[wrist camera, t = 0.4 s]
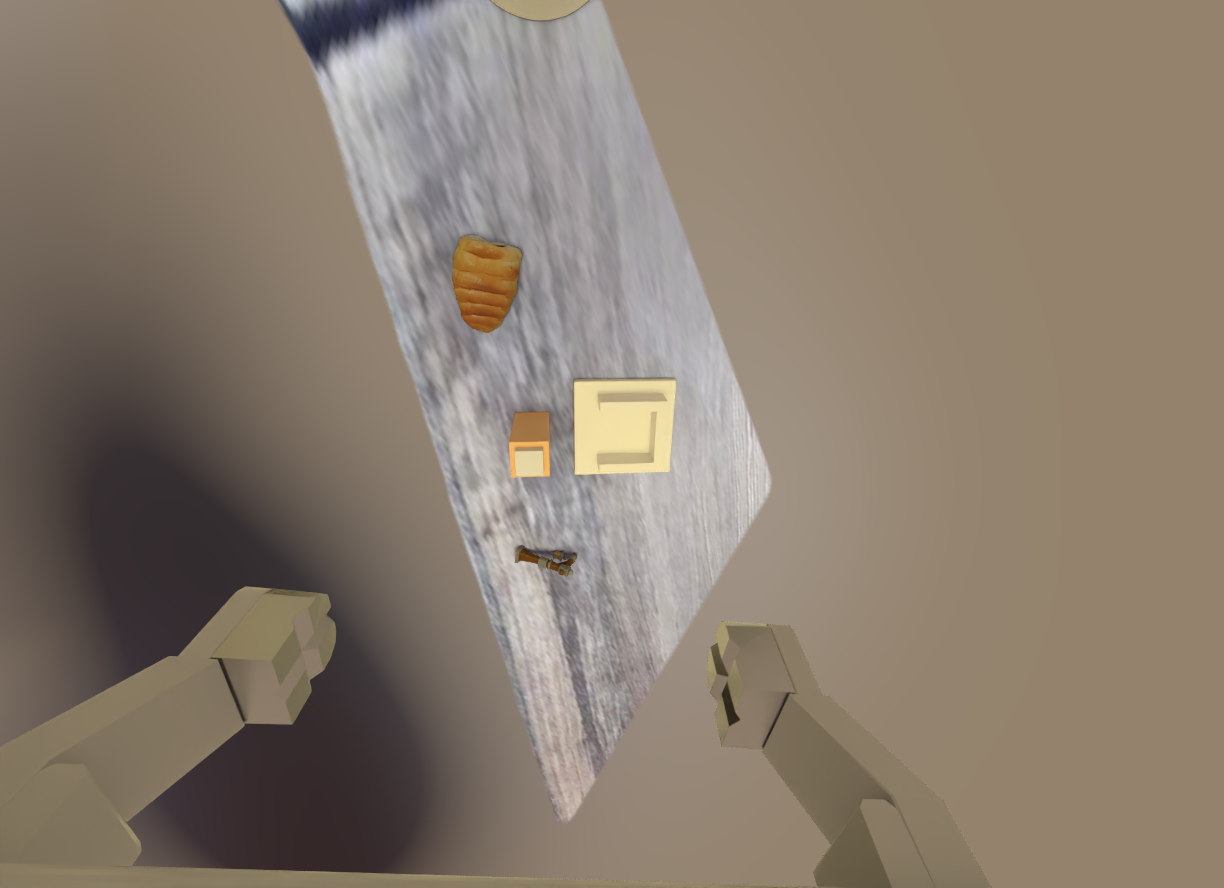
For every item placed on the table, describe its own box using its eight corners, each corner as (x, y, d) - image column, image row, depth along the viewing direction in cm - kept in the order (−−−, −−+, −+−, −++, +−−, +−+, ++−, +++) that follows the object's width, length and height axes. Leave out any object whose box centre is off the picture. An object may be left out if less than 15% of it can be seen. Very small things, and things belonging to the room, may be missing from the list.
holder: (573, 379, 56) (575, 389, 52) (674, 378, 57) (682, 387, 54) (574, 470, 61) (576, 486, 57) (667, 468, 62) (674, 482, 59)
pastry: (512, 334, 53) (509, 341, 50) (450, 323, 52) (442, 329, 49) (524, 245, 50) (521, 246, 47) (457, 231, 49) (449, 230, 45)
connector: (515, 412, 57) (508, 446, 48) (549, 411, 57) (548, 445, 48) (517, 443, 58) (510, 481, 49) (550, 442, 59) (549, 480, 50)
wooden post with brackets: (582, 563, 66) (569, 582, 62) (529, 546, 67) (513, 563, 63) (583, 552, 65) (571, 571, 61) (530, 535, 67) (515, 552, 63)
